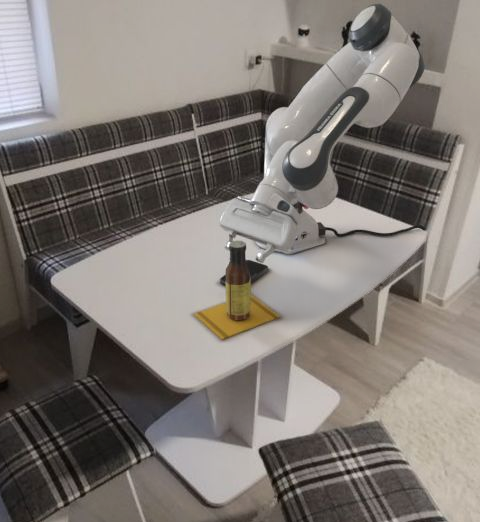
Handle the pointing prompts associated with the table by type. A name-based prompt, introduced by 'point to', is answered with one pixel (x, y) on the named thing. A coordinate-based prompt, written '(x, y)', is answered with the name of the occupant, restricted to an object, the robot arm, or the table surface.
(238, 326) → the tray
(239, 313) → the sauce bottle
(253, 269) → the phone
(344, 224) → the table surface
